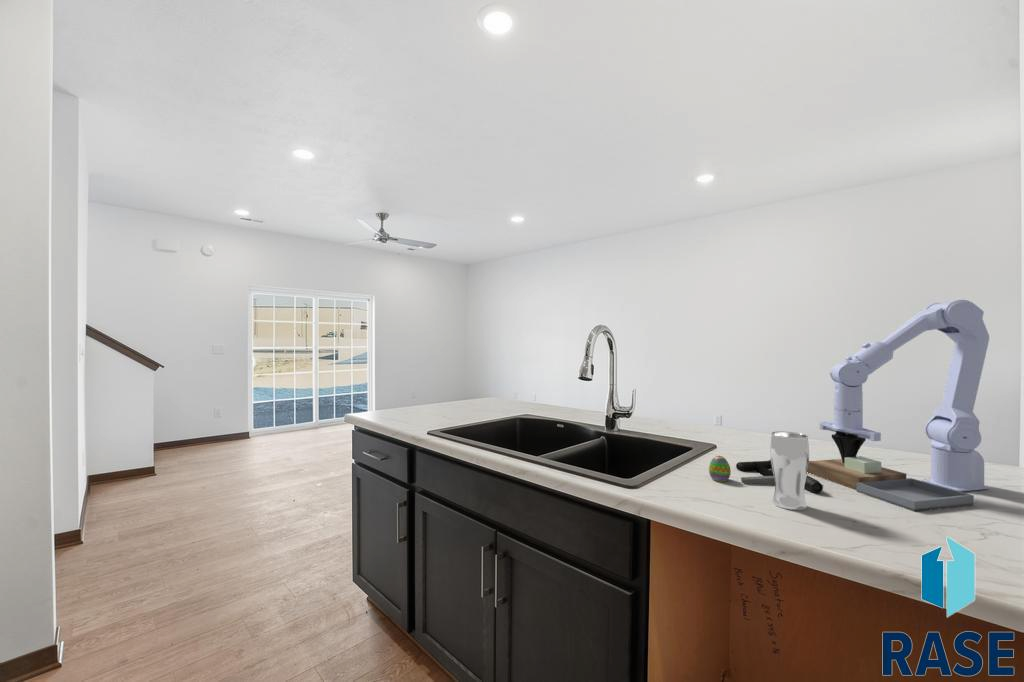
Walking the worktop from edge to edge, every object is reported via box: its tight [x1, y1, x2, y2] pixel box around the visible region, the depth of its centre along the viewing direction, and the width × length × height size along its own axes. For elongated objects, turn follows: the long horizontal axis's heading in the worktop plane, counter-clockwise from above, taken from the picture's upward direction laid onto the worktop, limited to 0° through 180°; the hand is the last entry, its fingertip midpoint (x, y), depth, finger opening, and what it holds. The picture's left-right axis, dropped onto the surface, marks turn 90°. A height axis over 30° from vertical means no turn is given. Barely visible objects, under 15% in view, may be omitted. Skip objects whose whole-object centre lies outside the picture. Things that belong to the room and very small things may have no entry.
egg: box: [708, 455, 731, 483], centre depth 109 cm, size 5×5×6 cm
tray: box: [856, 477, 975, 512], centre depth 97 cm, size 16×12×2 cm
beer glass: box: [769, 430, 810, 512], centre depth 92 cm, size 7×7×15 cm
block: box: [845, 456, 882, 474], centre depth 107 cm, size 5×5×2 cm
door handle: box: [735, 458, 825, 494], centre depth 110 cm, size 3×20×16 cm
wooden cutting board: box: [807, 458, 907, 491], centre depth 110 cm, size 14×14×3 cm
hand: (848, 463), depth 111 cm, fingers closed
